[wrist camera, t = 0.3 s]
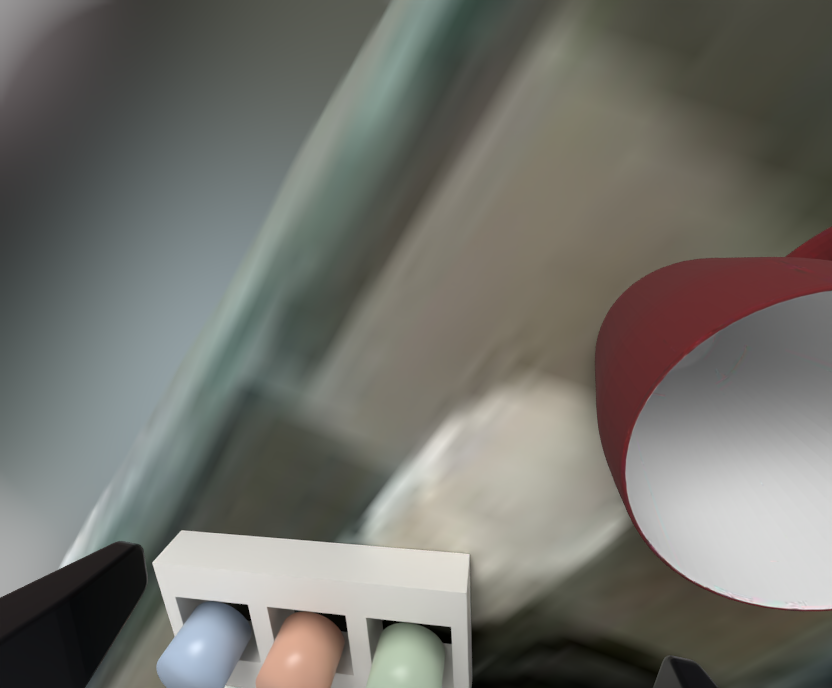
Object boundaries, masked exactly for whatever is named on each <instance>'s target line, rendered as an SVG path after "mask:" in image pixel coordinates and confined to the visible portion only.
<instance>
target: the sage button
mask: <svg viewBox="0 0 832 688" xmlns="http://www.w3.org/2000/svg"><path fill="white" fill-rule="evenodd" d="M444 663H445V648H444V645H443V643H442V641H441V640H440V638H439V637H438V636H437V635H436V634H435V633H433V632H432V631H431V630H429V629H427V628H425V627H423V626H420V625H417V624H413V623H396V624H393V625H390V626H388V627H387V628H385V629H384V630H383V631H382V632H381V634H380V636H379V639H378V643H377V647H376V651H375V654H374V658H373V662H372V666H371V670H370V674H369V677H368V681H367V685H366V688H442V680H443V671H444Z"/></svg>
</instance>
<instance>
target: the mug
mask: <svg viewBox="0 0 832 688" xmlns="http://www.w3.org/2000/svg"><path fill="white" fill-rule="evenodd" d="M595 376H596V407H597V419H598V428H599V434H600V438H601V443H602V447H603V451H604V454H605V457H606V460H607V463H608V466H609V469H610V471H611V474H612V476H613V479H614V481H615V484H616V487H617V489H618V491H619V493H620V496H621V498H622V500H623V503H624V505H625V507H626V510H627V512H628V514H629V516H630V518H631V520H632V522H633V524H634V526H635V528H636V529H637V531H638V532H639V534H640V536H641V537H642V539H643V540H644V542H645V543H646V544H647V545H648V546H649V548H650V549H651V550H652V551H653V552H654V553H655V554H656V555H657V556H658V557H659V558H660V559H661V561H662V562H664V563H665V564H666V565H667V566H669V567H670V568H671V569H672V570H673V571H675V572H676V573H678V574H679V575H681V576H682V577H684V578H685V579H686V580H688V581H690V582H692V583H694V584H695V585H697V586H699V587H701V588H703V589H705V590H708V591H710V592H712V593H714V594H717V595H719V596H722V597H725V598H728V599H731V600H734V601H738V602H741V603H745V604H749V605H754V606H759V607H764V608H771V609H779V610H791V611H830V610H832V227H830V228H828V229H826V230H824V231H823V232H821V233H819V234H818V235H816V236H814V237H813V238H811V239H810V240H808V241H807V242H805V243H804V244H802V245H801V246H799V247H798V248H797V249H795V250H794V251H792V252H791V253H790V254H788V255H787V256H786V257H747V258H706V259H695V260H689V261H683V262H679V263H675V264H672V265H669V266H666V267H663V268H661V269H659V270H656V271H654V272H652V273H650V274H648V275H646V276H645V277H643V278H641V279H640V280H638V281H637V282H636V283H634V284H633V285H632V286H630V287H629V288H628V289H627V290H626V291H625V292H624V293H623V294H622V295H621V296H620V297H619V298H618V299H617V300H616V302H615V303H614V304H613V306H612V307H611V308H610V310H609V312H608V313H607V315H606V317H605V319H604V321H603V323H602V326H601V328H600V331H599V334H598V338H597V343H596V351H595Z"/></svg>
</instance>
